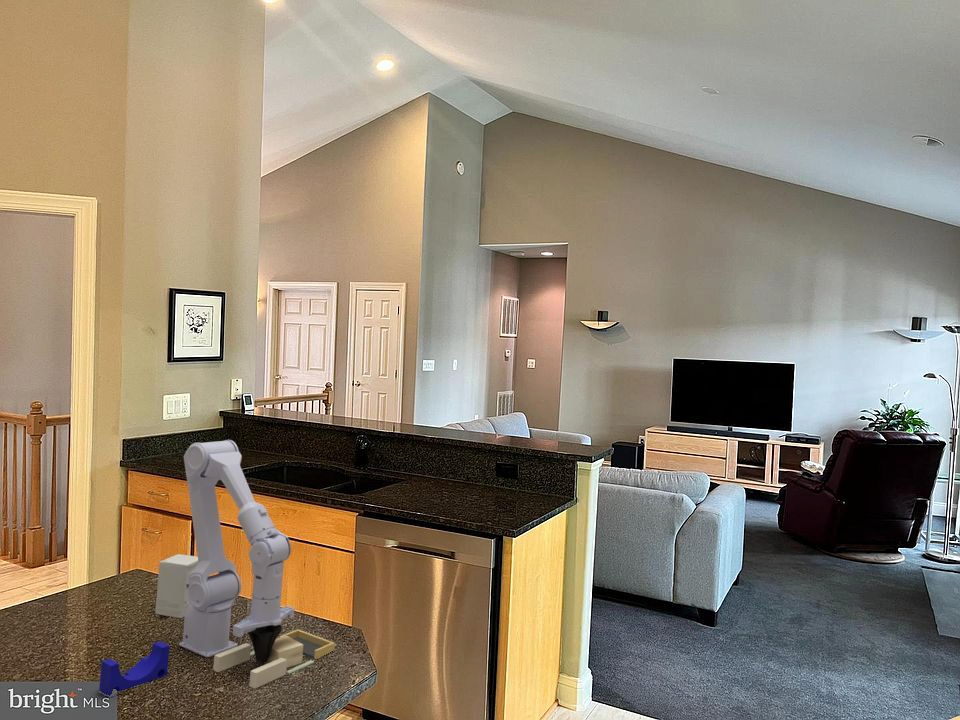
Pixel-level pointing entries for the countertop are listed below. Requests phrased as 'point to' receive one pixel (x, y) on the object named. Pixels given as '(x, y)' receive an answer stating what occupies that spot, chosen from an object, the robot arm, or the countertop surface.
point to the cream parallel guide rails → (256, 675)
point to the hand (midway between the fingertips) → (261, 661)
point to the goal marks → (295, 667)
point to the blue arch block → (135, 670)
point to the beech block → (286, 651)
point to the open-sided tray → (311, 643)
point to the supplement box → (174, 585)
